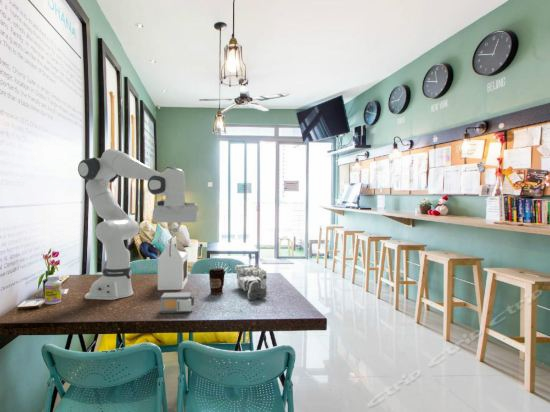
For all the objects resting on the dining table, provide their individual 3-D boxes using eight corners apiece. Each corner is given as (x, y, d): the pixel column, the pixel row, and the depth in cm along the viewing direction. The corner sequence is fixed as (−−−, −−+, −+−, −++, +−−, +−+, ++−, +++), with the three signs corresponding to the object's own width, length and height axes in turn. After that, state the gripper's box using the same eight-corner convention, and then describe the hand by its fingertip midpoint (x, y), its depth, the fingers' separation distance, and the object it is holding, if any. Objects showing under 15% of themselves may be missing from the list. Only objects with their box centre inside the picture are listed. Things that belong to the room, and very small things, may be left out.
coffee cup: (221, 296, 185) (221, 270, 184) (206, 295, 186) (206, 270, 186) (227, 291, 193) (227, 267, 193) (212, 290, 195) (212, 267, 195)
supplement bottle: (42, 305, 167) (42, 277, 166) (48, 301, 173) (48, 274, 173) (58, 304, 168) (58, 276, 168) (63, 300, 174) (63, 274, 174)
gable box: (165, 281, 217) (165, 235, 217) (187, 280, 219) (187, 234, 218) (157, 290, 195) (157, 239, 195) (182, 289, 197) (182, 238, 196)
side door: (176, 311, 154) (176, 300, 154) (177, 310, 156) (177, 299, 156) (190, 311, 155) (190, 300, 155) (191, 309, 157) (191, 299, 157)
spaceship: (259, 281, 212) (260, 261, 211) (276, 303, 179) (277, 280, 178) (233, 283, 208) (233, 263, 207) (245, 306, 175) (246, 282, 173)
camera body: (160, 313, 156) (160, 297, 155) (164, 308, 163) (164, 292, 163) (192, 312, 157) (192, 296, 157) (194, 307, 164) (194, 292, 164)
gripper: (198, 202, 171) (198, 231, 172) (154, 202, 169) (154, 231, 170) (197, 202, 165) (197, 232, 165) (151, 202, 163) (151, 232, 163)
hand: (175, 232), depth 167 cm, fingers closed
